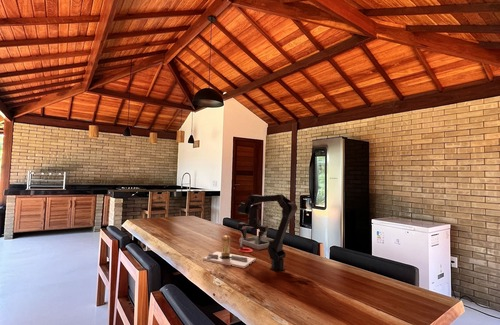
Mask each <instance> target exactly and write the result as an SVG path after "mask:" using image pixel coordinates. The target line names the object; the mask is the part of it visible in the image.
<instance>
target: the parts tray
mask: <svg viewBox="0 0 500 325" xmlns="http://www.w3.org/2000/svg"><path fill="white" fill-rule="evenodd" d="M255 236H256V237H258V235H255ZM253 238H254V236H251V237H249V236H248V237H246V240H245V239H244V237H243V241H242V243H243V245H242V246H247V247H248V248H251V249H255V250H258V251H260V250H263V249H264V250H265V249H268V246H269V242H270V241H272V240H274V239H275V238H274V239H273V238H270V237H266V236H263V235H262V237H261V239H262V238H263V239H264V238H266V239H268V241H269V242H267V241H262V240H260V242H259V243H258V245H257V244H254V242H255V239H253ZM240 243H241V238H239V240H238V244H240Z"/></svg>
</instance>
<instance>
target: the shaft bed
mask: <svg viewBox="0 0 500 325" xmlns="http://www.w3.org/2000/svg"><path fill="white" fill-rule="evenodd" d="M202 260H203V261H206V262H211V263H216V264H221V265H226V266H231V265H232V266H233V267H236V268H240V269H246V268H247V267H248V266H250V265H251V264H252V262H253V263H254V262H255V261H256V260H257V259H256V257H250V256H249V257H248V256H246V255H245V256H243V255H238V254H234V253H233V254H232V253H230V257H229V258H222V251H214V252H213V253H208V255H206V256H205V257H203V258H202ZM249 264H250V265H249Z"/></svg>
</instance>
